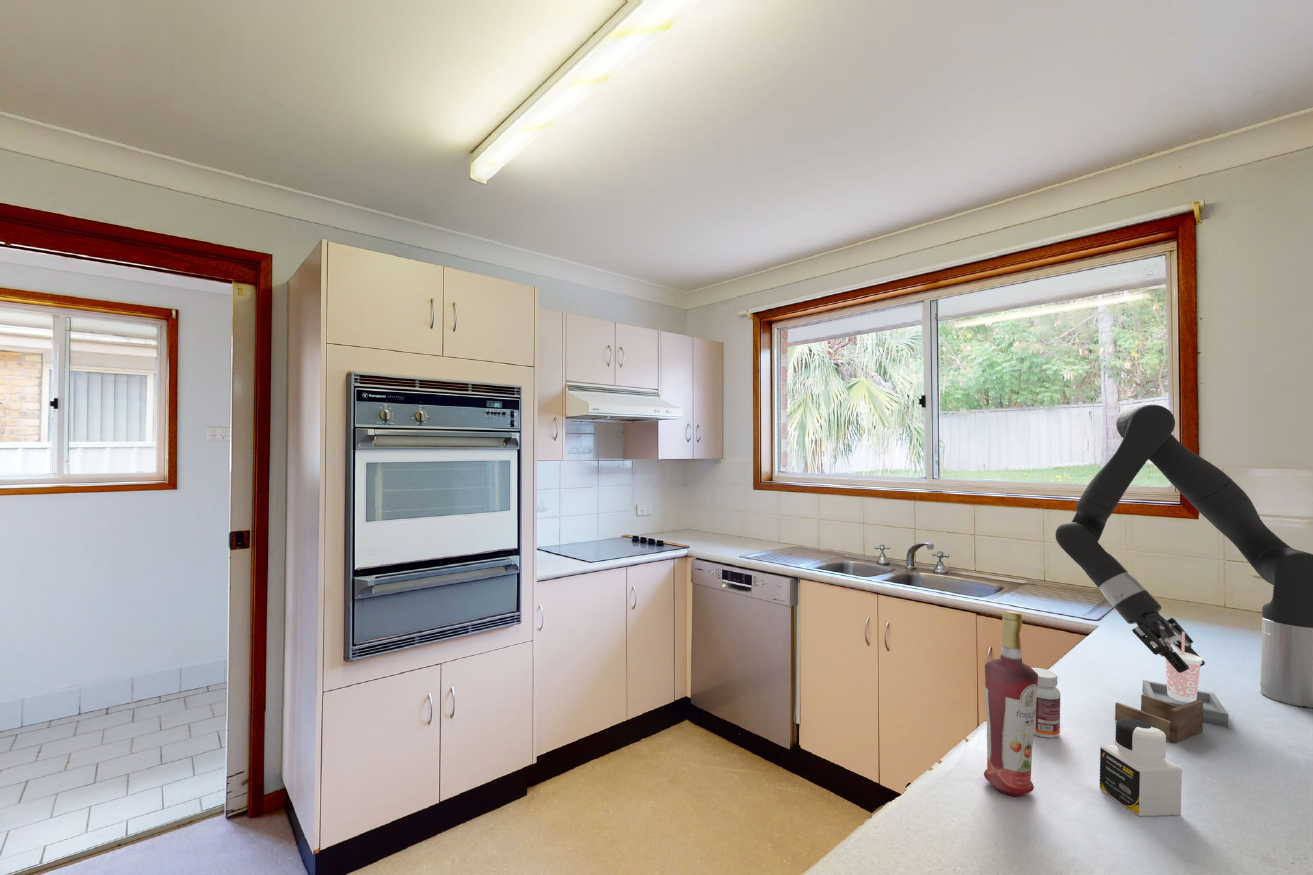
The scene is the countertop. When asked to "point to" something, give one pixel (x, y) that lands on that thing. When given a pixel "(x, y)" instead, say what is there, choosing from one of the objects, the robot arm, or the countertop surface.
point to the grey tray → (1211, 704)
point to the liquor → (1010, 713)
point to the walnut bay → (1166, 716)
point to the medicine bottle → (1140, 770)
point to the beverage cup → (1184, 676)
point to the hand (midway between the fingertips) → (1192, 668)
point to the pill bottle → (1047, 705)
